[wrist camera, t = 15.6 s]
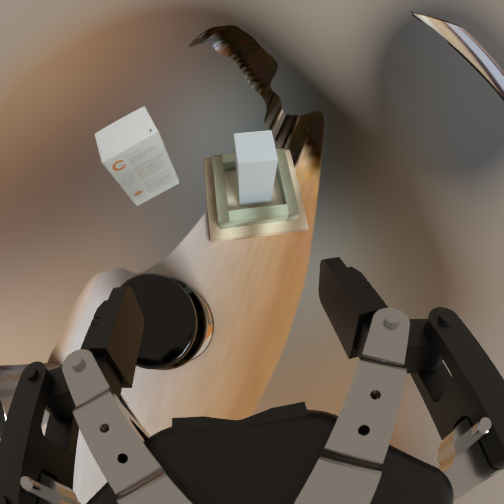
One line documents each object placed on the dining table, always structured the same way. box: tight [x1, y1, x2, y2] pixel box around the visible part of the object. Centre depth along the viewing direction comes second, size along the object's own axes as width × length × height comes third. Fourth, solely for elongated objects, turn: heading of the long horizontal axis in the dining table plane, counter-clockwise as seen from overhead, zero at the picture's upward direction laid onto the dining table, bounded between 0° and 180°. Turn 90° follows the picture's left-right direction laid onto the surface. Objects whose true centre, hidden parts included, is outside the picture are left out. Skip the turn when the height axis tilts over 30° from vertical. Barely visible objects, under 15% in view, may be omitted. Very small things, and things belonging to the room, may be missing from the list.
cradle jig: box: [204, 149, 308, 243], centre depth 40 cm, size 14×14×4 cm
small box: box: [95, 106, 179, 206], centre depth 36 cm, size 8×6×13 cm
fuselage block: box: [234, 131, 278, 206], centre depth 36 cm, size 4×4×11 cm
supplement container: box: [120, 274, 214, 370], centre depth 31 cm, size 10×10×12 cm
